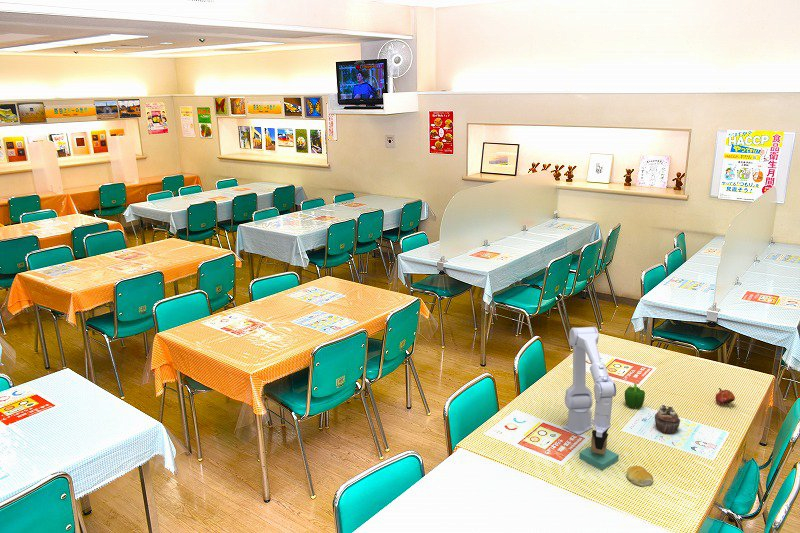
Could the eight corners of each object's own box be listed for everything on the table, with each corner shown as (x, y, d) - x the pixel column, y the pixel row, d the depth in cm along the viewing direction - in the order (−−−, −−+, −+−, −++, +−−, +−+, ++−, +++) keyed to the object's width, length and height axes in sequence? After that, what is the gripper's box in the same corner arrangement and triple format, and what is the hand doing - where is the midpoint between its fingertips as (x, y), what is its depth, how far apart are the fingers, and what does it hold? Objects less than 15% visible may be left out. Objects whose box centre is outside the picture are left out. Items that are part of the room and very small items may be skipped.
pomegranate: (735, 411, 268) (726, 390, 274) (742, 404, 262) (732, 383, 268) (719, 413, 268) (709, 392, 274) (725, 406, 262) (715, 385, 268)
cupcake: (681, 436, 244) (684, 414, 241) (655, 434, 246) (658, 411, 243) (676, 424, 253) (678, 402, 250) (651, 422, 255) (653, 400, 252)
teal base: (595, 450, 236) (595, 443, 235) (618, 461, 228) (618, 454, 227) (579, 459, 230) (579, 452, 229) (602, 471, 222) (602, 464, 222)
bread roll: (641, 470, 223) (642, 460, 222) (656, 485, 214) (657, 475, 213) (620, 473, 221) (621, 463, 220) (635, 488, 212) (636, 478, 211)
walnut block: (592, 445, 231) (593, 430, 230) (606, 447, 229) (607, 433, 228) (590, 451, 227) (591, 437, 225) (604, 454, 225) (605, 440, 223)
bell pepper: (640, 412, 262) (642, 391, 260) (621, 407, 267) (623, 386, 265) (646, 405, 269) (648, 384, 266) (627, 399, 274) (629, 379, 271)
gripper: (594, 401, 232) (591, 433, 235) (588, 418, 219) (585, 452, 223) (613, 404, 229) (610, 437, 232) (609, 422, 216) (606, 456, 220)
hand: (599, 445), depth 227 cm, fingers closed on walnut block, 5 cm apart
